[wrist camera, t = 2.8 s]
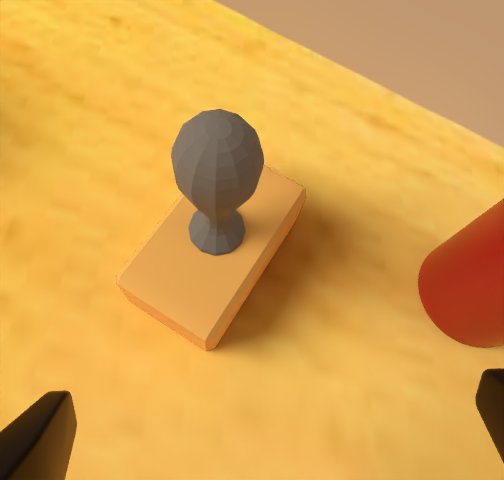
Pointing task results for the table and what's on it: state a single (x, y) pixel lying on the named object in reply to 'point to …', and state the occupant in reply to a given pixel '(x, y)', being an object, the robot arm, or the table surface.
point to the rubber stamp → (212, 230)
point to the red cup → (468, 282)
